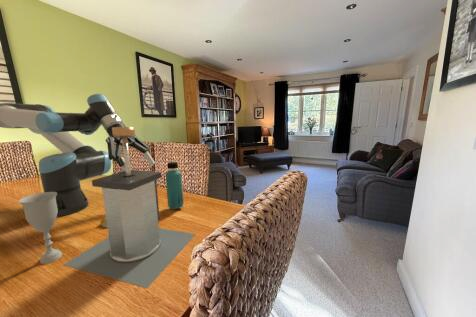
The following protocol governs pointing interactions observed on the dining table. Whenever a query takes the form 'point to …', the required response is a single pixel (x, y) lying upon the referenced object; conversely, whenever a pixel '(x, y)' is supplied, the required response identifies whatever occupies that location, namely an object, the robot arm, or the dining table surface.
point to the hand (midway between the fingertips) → (141, 168)
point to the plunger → (124, 143)
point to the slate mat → (135, 272)
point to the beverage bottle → (174, 186)
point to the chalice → (42, 219)
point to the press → (131, 214)
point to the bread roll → (104, 222)
